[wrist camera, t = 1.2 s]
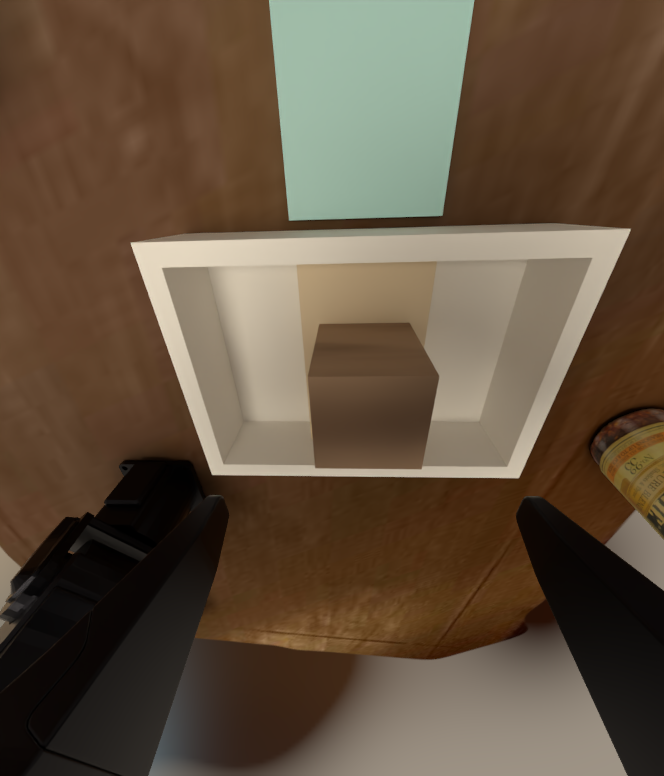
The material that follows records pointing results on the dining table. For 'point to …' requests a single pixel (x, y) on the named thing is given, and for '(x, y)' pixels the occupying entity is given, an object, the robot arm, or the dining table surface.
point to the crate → (376, 305)
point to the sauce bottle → (635, 461)
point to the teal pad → (368, 103)
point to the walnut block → (370, 396)
